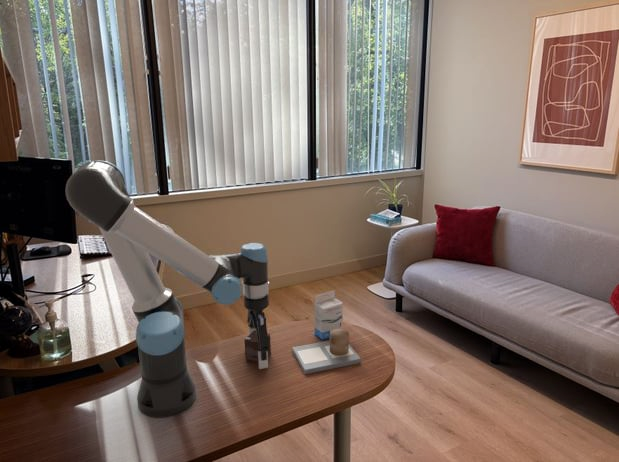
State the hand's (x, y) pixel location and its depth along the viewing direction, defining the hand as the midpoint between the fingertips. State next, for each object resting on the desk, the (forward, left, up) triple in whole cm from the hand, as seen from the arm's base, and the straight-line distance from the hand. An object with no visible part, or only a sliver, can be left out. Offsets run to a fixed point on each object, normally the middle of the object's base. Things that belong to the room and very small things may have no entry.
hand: (258, 356), depth 145 cm
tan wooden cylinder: (+24, -7, +1) cm, 25 cm away
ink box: (+26, +6, 0) cm, 27 cm away
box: (0, 0, 0) cm, 0 cm away
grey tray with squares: (+20, -7, 0) cm, 21 cm away
